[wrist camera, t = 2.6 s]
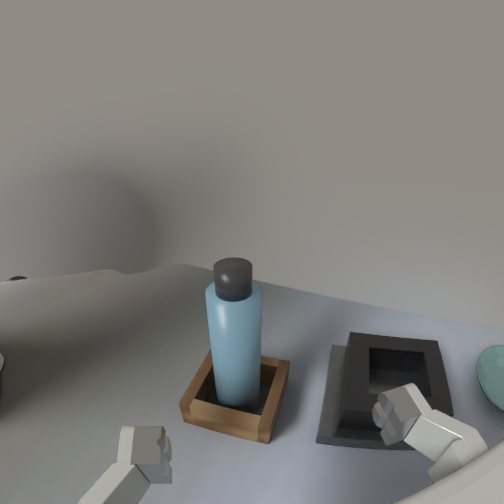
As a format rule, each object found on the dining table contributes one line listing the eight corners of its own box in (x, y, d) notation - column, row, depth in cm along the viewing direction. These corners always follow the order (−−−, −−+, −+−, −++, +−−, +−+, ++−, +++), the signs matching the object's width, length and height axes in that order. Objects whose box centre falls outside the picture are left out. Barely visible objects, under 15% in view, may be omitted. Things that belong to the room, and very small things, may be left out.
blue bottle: (211, 412, 26) (193, 276, 20) (225, 382, 30) (216, 250, 23) (252, 422, 25) (253, 286, 19) (263, 391, 29) (268, 257, 22)
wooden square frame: (184, 421, 25) (178, 403, 24) (214, 365, 32) (212, 345, 31) (268, 444, 23) (270, 427, 22) (287, 380, 30) (289, 361, 29)
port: (315, 442, 23) (324, 416, 21) (330, 354, 33) (336, 324, 31) (446, 449, 20) (469, 423, 18) (433, 364, 30) (447, 335, 28)
